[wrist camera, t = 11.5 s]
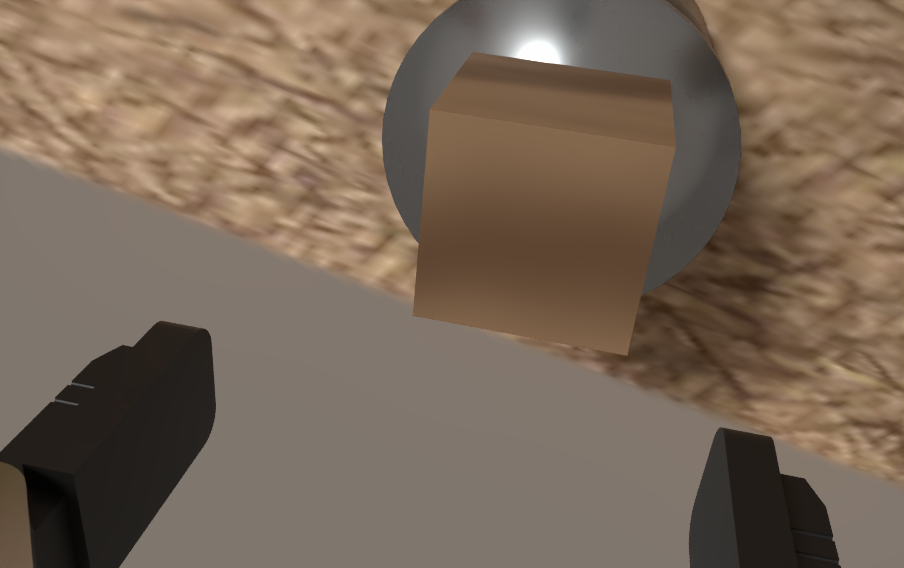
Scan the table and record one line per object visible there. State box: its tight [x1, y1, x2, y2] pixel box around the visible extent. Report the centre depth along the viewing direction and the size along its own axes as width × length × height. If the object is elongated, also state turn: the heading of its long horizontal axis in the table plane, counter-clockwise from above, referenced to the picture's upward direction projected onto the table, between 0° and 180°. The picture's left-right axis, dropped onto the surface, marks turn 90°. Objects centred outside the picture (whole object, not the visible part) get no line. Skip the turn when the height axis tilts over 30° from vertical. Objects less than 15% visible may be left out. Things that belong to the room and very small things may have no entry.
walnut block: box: [413, 52, 676, 356], centre depth 23 cm, size 6×6×6 cm
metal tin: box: [382, 0, 741, 296], centre depth 29 cm, size 10×10×9 cm
